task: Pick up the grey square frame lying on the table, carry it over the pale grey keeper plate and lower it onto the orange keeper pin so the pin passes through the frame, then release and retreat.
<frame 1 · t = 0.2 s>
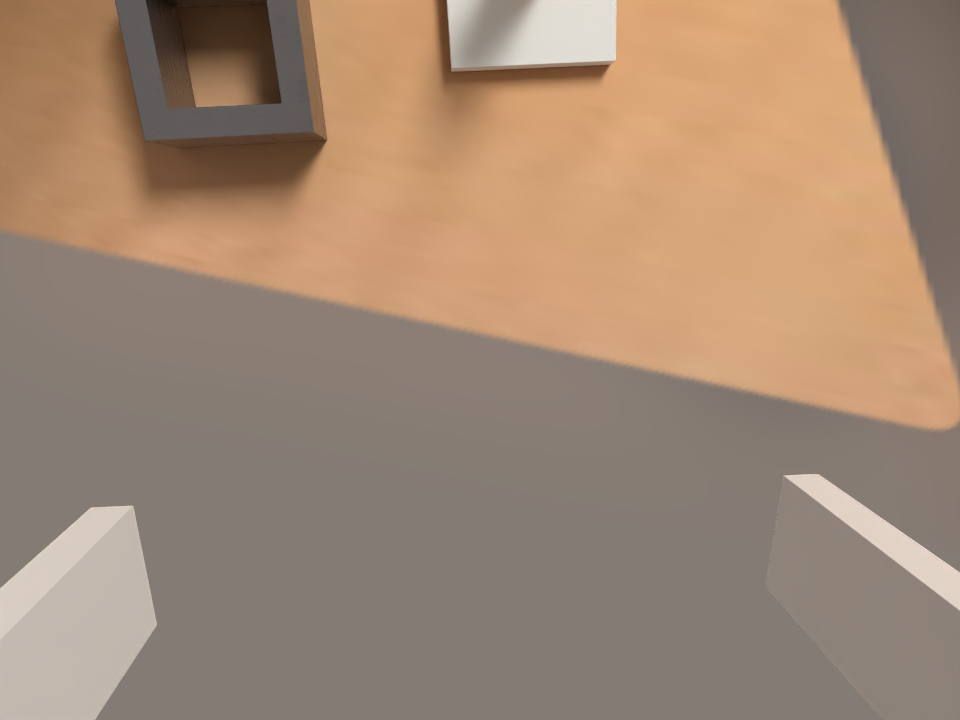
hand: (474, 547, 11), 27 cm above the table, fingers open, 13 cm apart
grey square frame: (239, 63, 32), on the table
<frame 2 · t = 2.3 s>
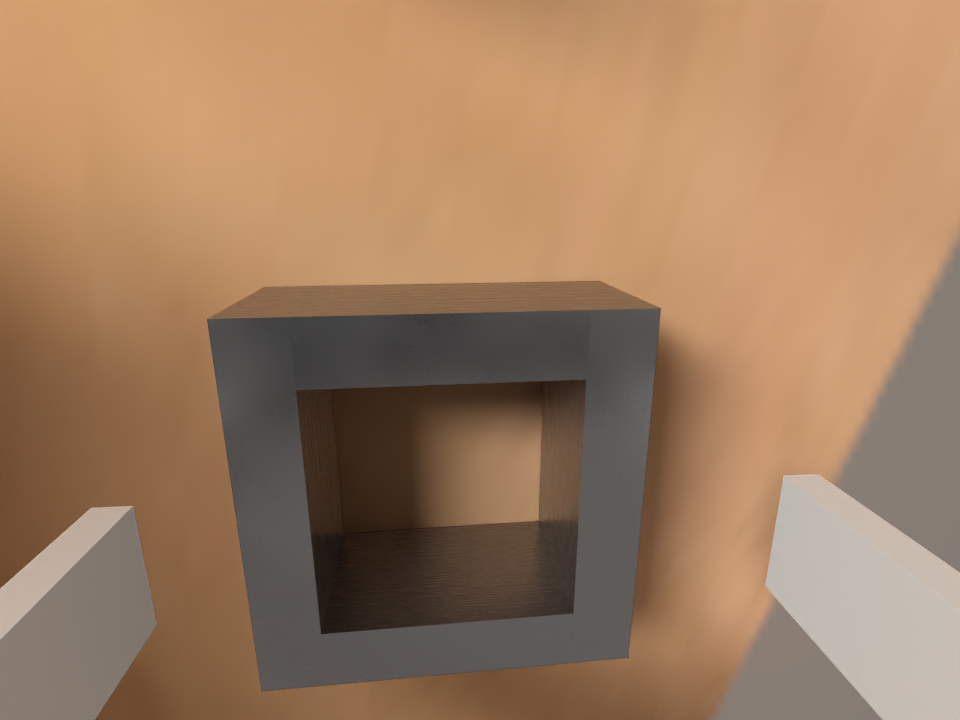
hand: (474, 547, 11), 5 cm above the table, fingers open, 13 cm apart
grey square frame: (440, 437, 16), on the table
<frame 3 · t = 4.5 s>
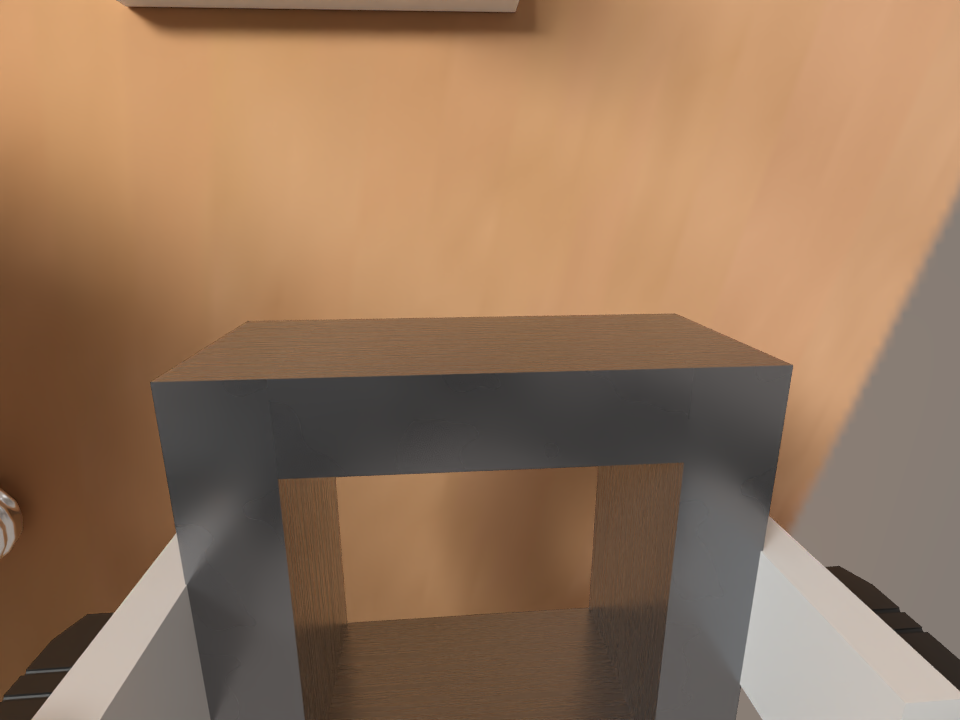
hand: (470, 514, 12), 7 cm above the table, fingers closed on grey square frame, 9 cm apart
grey square frame: (469, 507, 13), point 7 cm above the table, touching gripper
light bulb: (1, 503, 19), on the table
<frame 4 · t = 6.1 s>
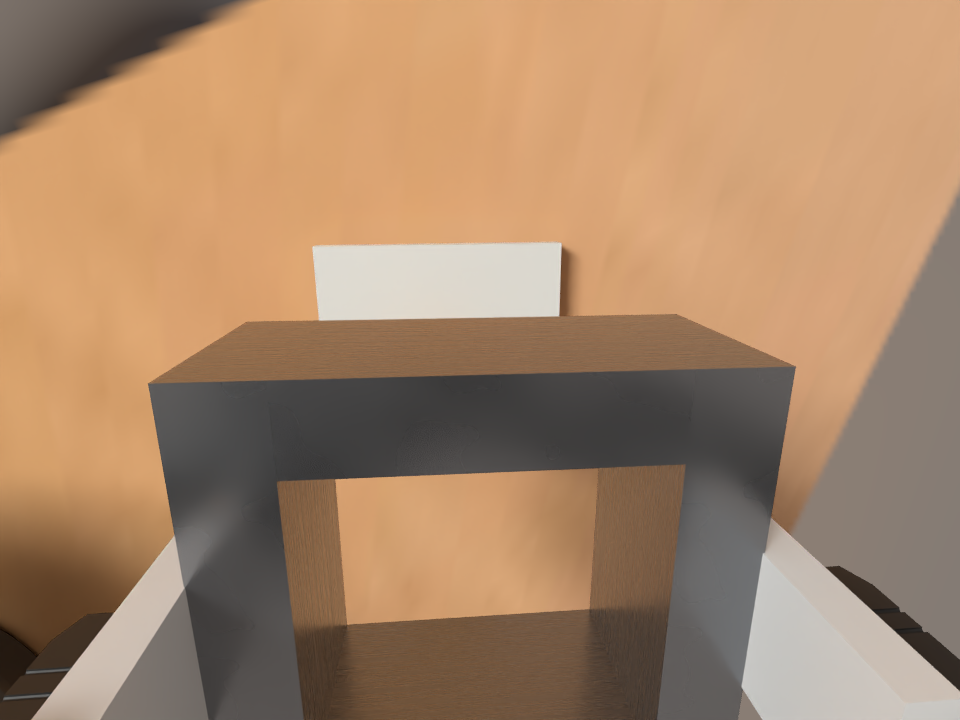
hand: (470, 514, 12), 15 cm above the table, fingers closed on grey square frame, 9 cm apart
grey square frame: (469, 508, 13), point 14 cm above the table, touching gripper
keeper: (441, 348, 26), on the table
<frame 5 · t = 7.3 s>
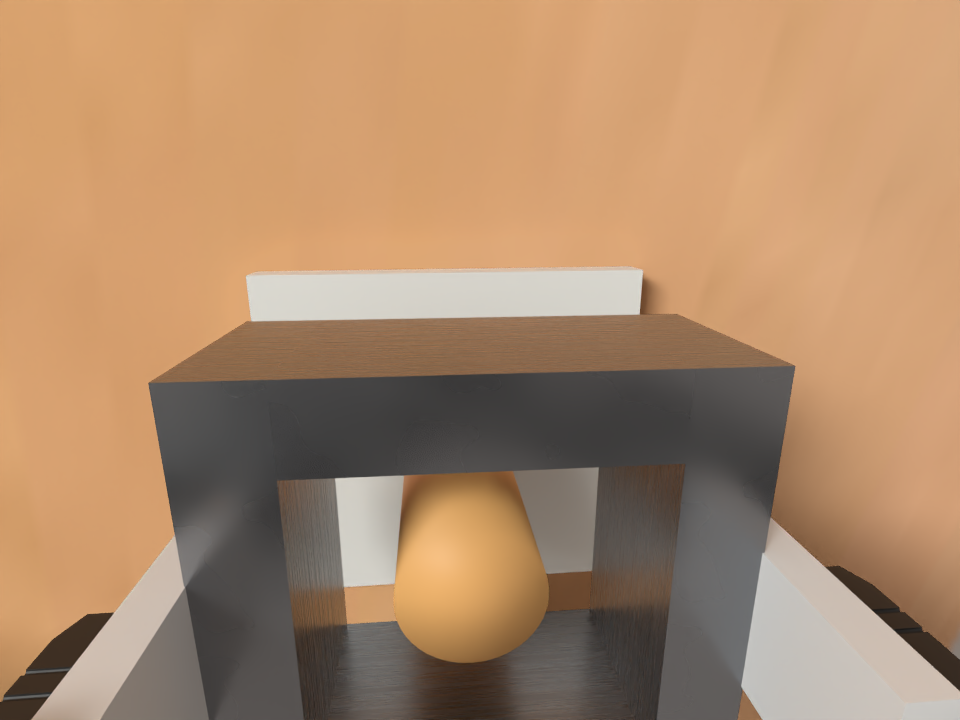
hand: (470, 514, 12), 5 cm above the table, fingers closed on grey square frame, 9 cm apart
grey square frame: (469, 508, 13), point 5 cm above the table, touching gripper
keeper: (452, 426, 17), on the table
when the fingers open (3 cm above the table, at t = 8.1 s): grey square frame drops 2 cm, resting on keeper.
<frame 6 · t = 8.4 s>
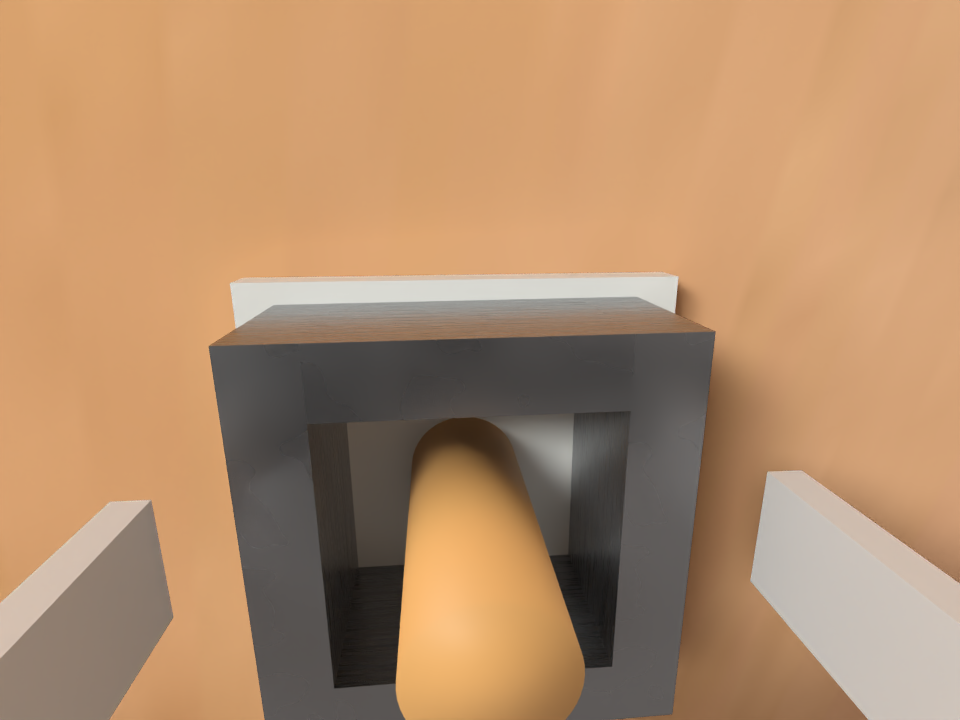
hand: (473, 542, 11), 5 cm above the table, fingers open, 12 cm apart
grey square frame: (463, 465, 15), point 1 cm above the table, touching keeper
keeper: (462, 449, 16), on the table
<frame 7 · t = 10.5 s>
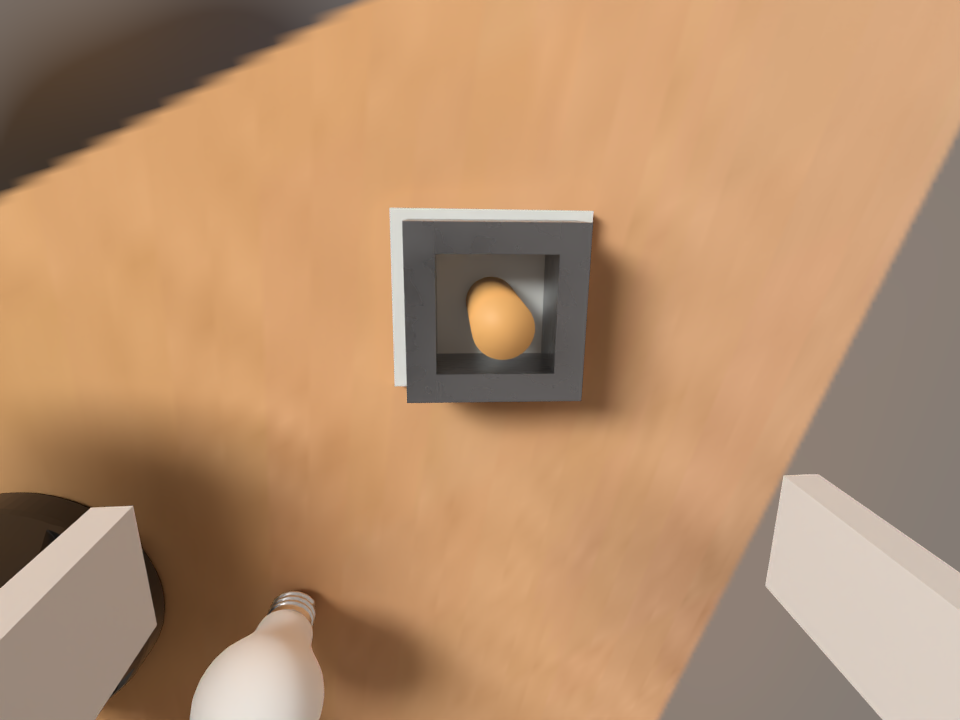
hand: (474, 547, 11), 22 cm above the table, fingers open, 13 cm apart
grey square frame: (490, 301, 31), point 1 cm above the table, touching keeper
light bulb: (298, 598, 37), on the table
keeper: (489, 298, 32), on the table
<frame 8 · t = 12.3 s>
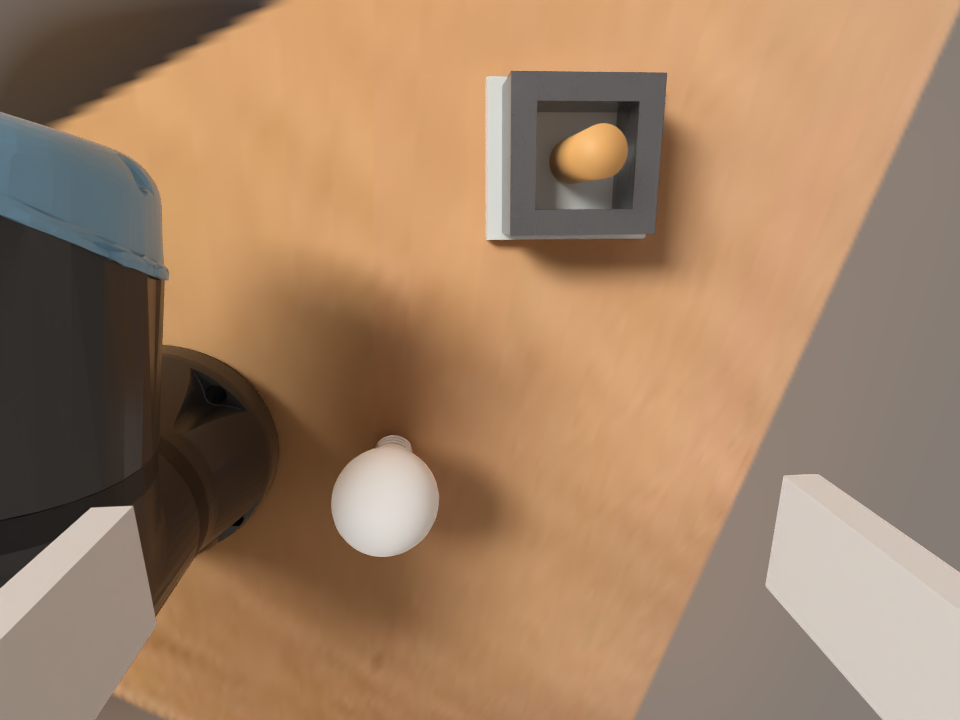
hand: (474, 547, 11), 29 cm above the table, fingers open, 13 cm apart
grey square frame: (569, 161, 36), point 1 cm above the table, touching keeper
light bulb: (394, 447, 42), on the table
keeper: (566, 162, 37), on the table
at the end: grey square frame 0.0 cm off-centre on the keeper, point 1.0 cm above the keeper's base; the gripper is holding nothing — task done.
